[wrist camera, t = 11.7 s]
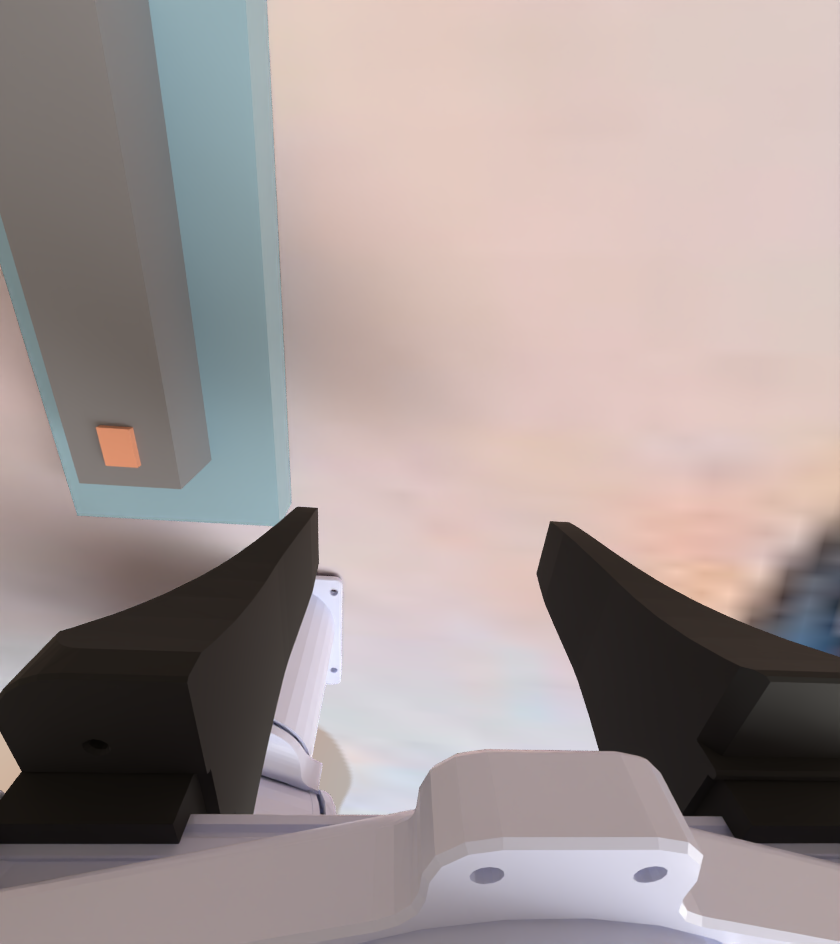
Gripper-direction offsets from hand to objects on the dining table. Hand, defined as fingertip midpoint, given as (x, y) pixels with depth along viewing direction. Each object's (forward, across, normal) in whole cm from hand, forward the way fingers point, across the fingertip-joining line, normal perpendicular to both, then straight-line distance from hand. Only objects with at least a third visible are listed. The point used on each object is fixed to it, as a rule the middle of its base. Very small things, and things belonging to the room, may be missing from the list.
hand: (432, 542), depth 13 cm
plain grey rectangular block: (+10, +12, -7) cm, 17 cm away
